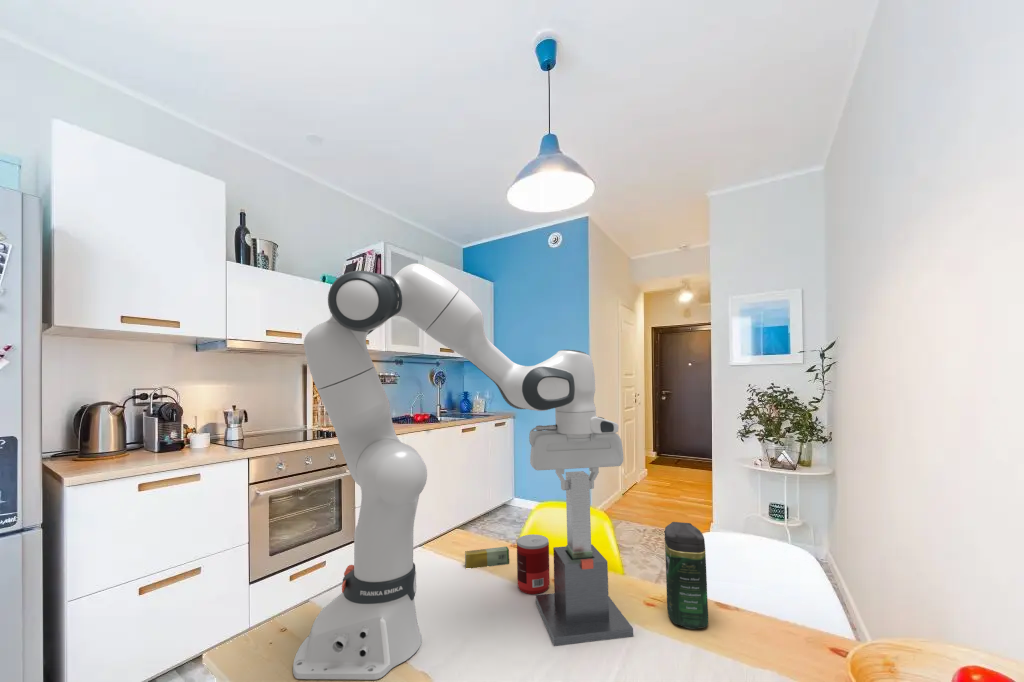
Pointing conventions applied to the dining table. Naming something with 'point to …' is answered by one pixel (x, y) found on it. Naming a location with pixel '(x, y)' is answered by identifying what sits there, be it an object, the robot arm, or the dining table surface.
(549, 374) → the robot arm
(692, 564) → the coffee jar
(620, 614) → the stand housing
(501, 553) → the medication box
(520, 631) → the dining table surface
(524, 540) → the canned food
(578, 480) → the column
